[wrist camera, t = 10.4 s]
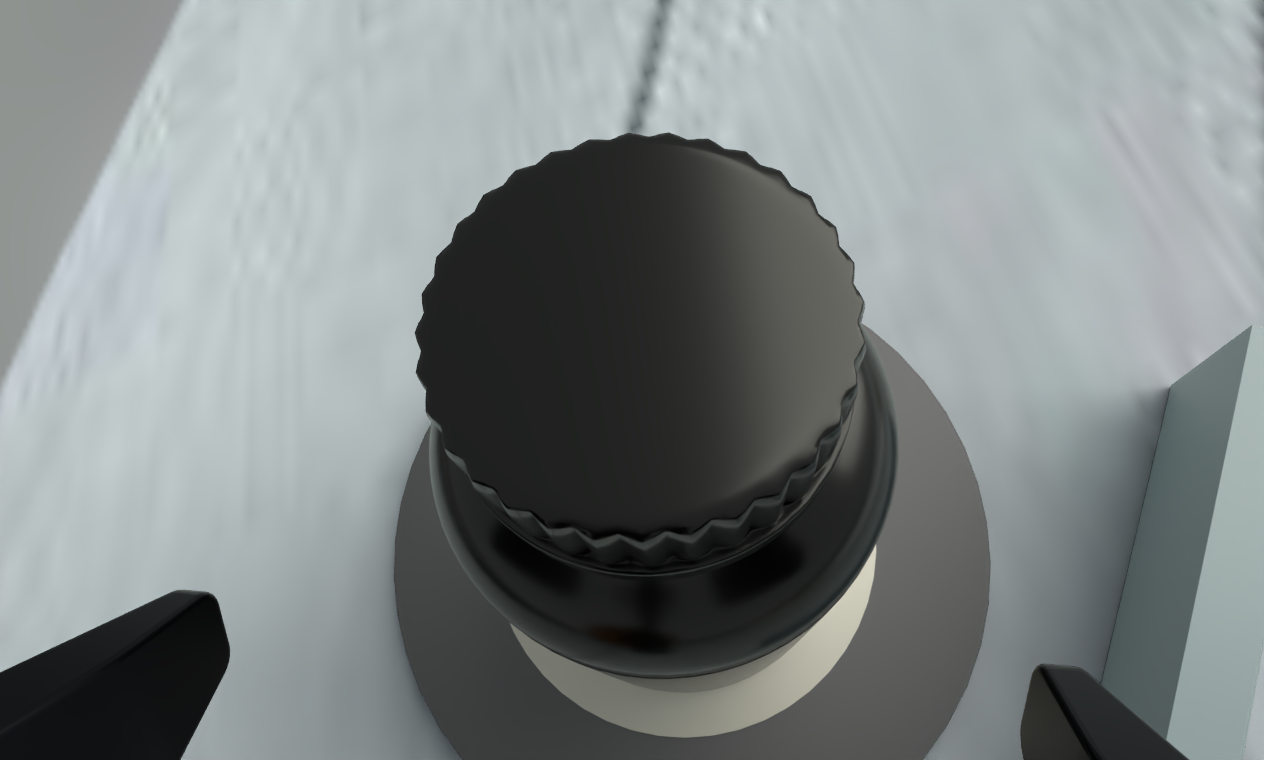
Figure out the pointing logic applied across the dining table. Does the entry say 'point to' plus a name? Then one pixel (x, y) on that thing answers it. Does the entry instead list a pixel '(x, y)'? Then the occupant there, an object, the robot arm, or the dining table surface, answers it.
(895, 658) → the mat
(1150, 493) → the acrylic wall
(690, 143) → the supplement bottle
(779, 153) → the dining table surface
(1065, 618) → the dining table surface
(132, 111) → the dining table surface
